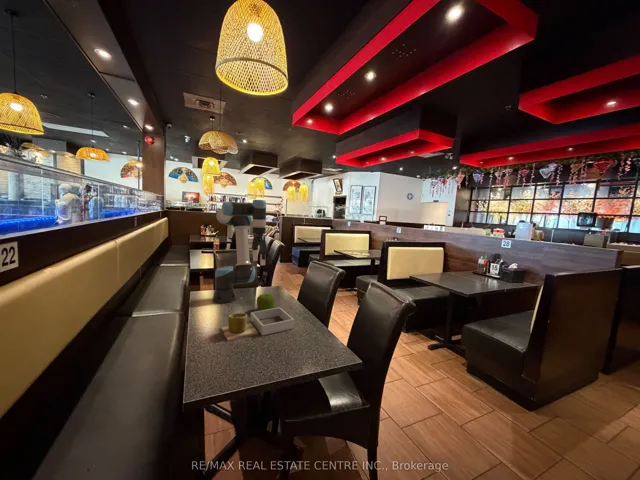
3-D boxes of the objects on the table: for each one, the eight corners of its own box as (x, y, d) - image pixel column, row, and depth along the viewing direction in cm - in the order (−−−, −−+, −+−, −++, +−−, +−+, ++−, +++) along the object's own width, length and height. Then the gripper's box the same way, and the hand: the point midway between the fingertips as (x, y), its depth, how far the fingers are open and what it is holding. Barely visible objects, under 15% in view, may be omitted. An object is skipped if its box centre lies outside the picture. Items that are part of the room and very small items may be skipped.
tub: (250, 320, 147) (250, 312, 147) (279, 315, 157) (279, 307, 156) (262, 335, 131) (262, 326, 130) (294, 328, 140) (294, 319, 139)
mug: (243, 333, 126) (239, 312, 127) (225, 336, 128) (222, 316, 130) (255, 327, 138) (252, 308, 139) (239, 330, 140) (236, 312, 142)
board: (221, 328, 137) (221, 326, 136) (249, 323, 145) (249, 320, 144) (227, 341, 124) (227, 338, 124) (257, 334, 132) (257, 332, 132)
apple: (273, 306, 170) (273, 290, 169) (275, 312, 160) (275, 295, 159) (256, 308, 167) (256, 291, 166) (257, 314, 157) (257, 297, 155)
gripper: (246, 225, 156) (246, 259, 159) (259, 228, 135) (259, 267, 138) (258, 225, 160) (258, 258, 163) (273, 228, 139) (272, 266, 142)
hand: (258, 262), depth 150 cm, fingers open, 13 cm apart
